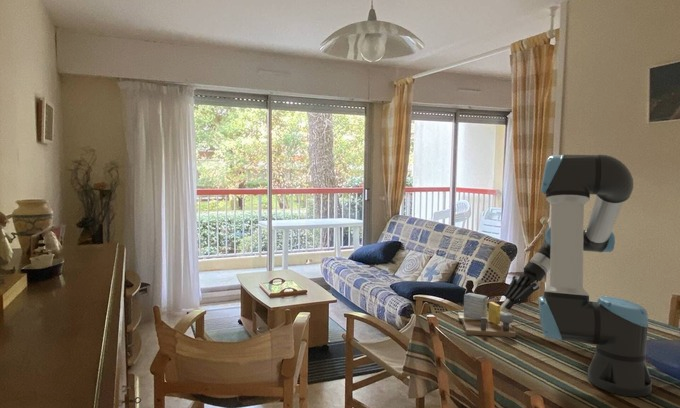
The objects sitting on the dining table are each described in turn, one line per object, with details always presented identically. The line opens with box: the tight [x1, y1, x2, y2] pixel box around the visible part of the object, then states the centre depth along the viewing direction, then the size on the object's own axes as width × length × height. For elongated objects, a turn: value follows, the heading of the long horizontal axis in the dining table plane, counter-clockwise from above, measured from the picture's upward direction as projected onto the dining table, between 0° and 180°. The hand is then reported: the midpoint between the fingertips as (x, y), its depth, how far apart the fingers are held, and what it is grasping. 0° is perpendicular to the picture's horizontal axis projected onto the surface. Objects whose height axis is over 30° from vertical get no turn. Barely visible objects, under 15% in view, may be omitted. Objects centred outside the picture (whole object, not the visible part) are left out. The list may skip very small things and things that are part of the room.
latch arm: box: [488, 301, 514, 324], centre depth 165 cm, size 12×4×7 cm, turn 14°
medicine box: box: [463, 292, 488, 320], centre depth 175 cm, size 8×4×9 cm, turn 49°
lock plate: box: [457, 311, 517, 338], centre depth 170 cm, size 20×18×6 cm
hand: (499, 314), depth 168 cm, fingers closed
